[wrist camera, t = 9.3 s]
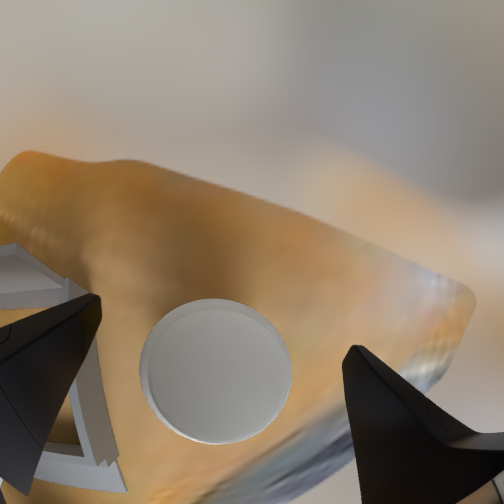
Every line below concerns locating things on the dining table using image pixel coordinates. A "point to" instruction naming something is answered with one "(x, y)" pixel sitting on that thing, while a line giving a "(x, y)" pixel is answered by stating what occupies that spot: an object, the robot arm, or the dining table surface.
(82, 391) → the carton
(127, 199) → the dining table surface
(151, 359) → the supplement bottle
